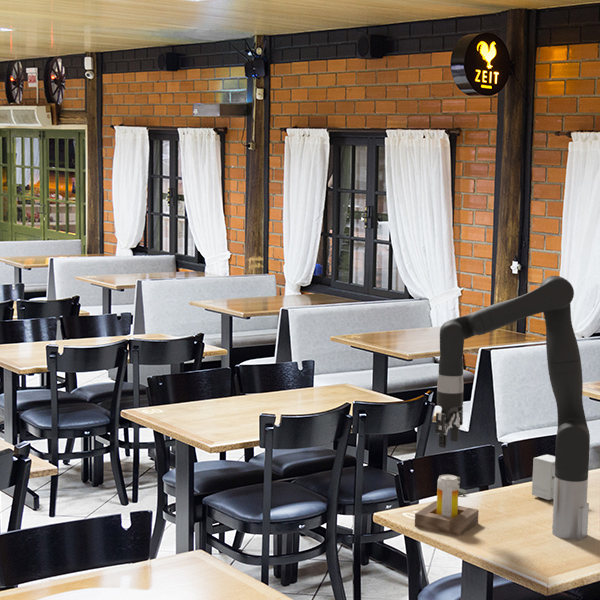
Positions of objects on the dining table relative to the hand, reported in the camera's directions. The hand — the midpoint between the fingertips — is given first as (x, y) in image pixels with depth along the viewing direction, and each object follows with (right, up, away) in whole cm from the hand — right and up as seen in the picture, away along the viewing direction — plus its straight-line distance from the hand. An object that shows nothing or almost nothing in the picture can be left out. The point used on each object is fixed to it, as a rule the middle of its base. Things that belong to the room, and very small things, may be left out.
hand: (448, 444), depth 283 cm
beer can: (0, -25, +2) cm, 25 cm away
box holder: (0, -25, +2) cm, 25 cm away
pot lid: (+8, -21, +37) cm, 43 cm away
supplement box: (+37, -22, +33) cm, 54 cm away
